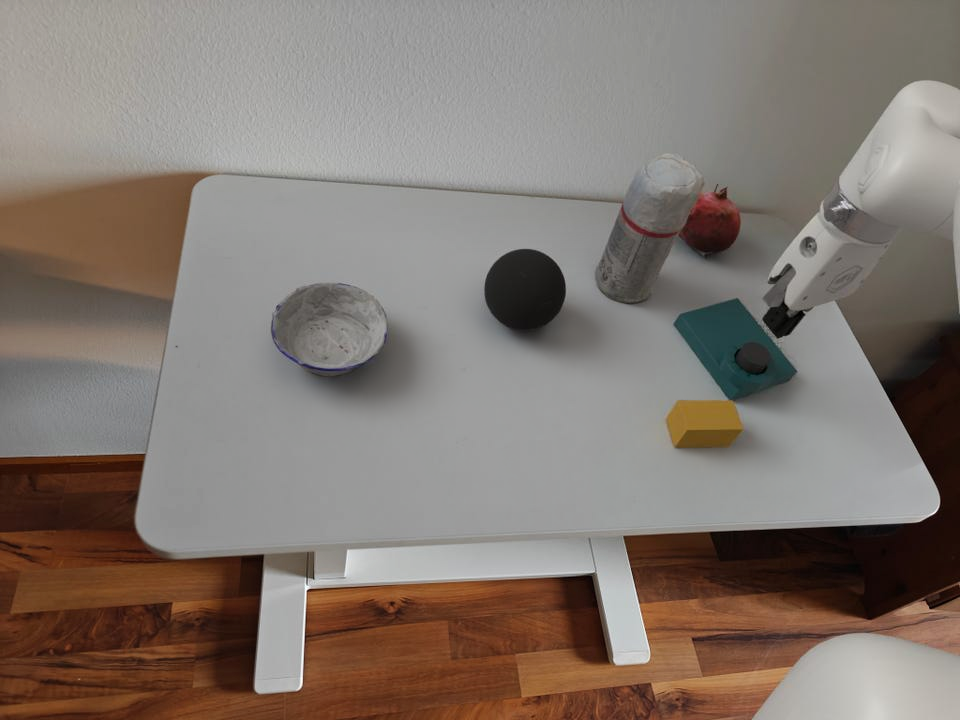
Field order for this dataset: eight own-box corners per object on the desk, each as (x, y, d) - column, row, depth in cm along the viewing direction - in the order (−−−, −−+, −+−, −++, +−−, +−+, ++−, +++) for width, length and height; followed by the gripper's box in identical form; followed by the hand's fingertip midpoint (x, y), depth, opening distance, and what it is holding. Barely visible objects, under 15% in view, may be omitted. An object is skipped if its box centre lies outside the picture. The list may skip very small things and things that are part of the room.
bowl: (276, 399, 80) (273, 373, 76) (270, 310, 88) (268, 283, 84) (393, 389, 83) (396, 364, 80) (378, 305, 91) (380, 278, 87)
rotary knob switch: (793, 385, 94) (809, 367, 91) (731, 406, 90) (746, 388, 87) (730, 308, 101) (743, 288, 98) (671, 324, 97) (683, 305, 94)
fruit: (705, 274, 104) (735, 222, 96) (654, 236, 107) (679, 182, 100) (739, 249, 109) (770, 197, 101) (689, 212, 112) (716, 159, 104)
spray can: (643, 315, 97) (703, 199, 81) (585, 292, 98) (634, 173, 82) (656, 275, 102) (715, 159, 87) (601, 254, 103) (650, 135, 87)
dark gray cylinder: (769, 370, 90) (777, 360, 88) (746, 378, 89) (754, 368, 87) (751, 348, 92) (759, 338, 90) (729, 355, 90) (736, 345, 89)
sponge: (718, 418, 89) (733, 400, 86) (729, 447, 86) (744, 429, 83) (665, 418, 87) (677, 400, 84) (674, 447, 85) (687, 429, 82)
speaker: (499, 276, 97) (514, 220, 89) (566, 309, 96) (587, 254, 88) (464, 323, 91) (477, 267, 83) (535, 359, 90) (555, 306, 82)
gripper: (834, 251, 66) (744, 368, 81) (944, 221, 71) (841, 337, 86) (783, 196, 70) (706, 318, 84) (891, 172, 75) (801, 291, 90)
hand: (774, 327), depth 85 cm, fingers closed
